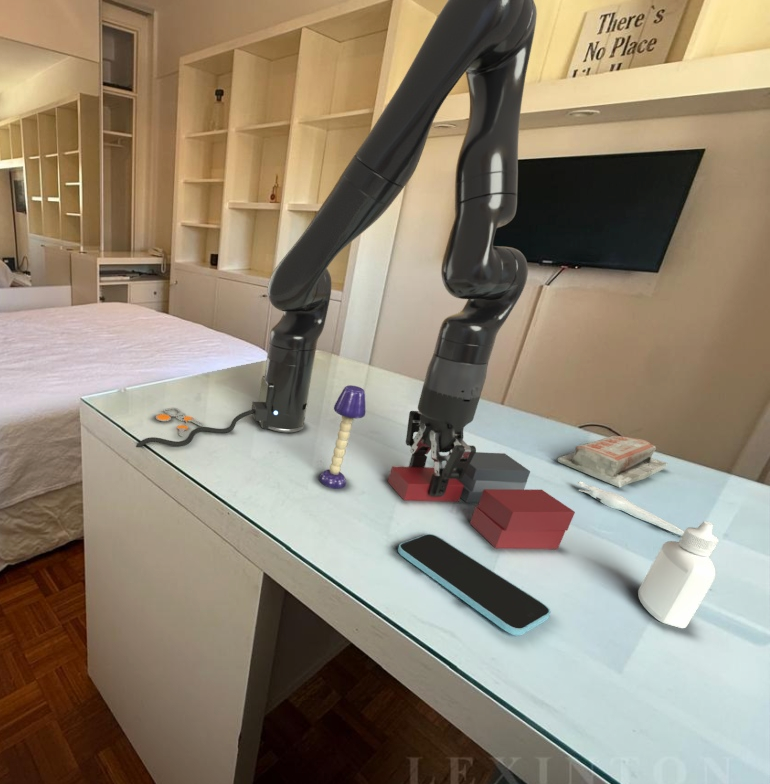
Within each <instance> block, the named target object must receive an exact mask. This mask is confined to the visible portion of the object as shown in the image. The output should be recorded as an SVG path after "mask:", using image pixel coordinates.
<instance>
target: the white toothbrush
mask: <svg viewBox="0 0 770 784" xmlns="http://www.w3.org/2000/svg"><path fill="white" fill-rule="evenodd" d="M577 485H578V486H580V487H582V488H584V489H578V492H581V493H585V494H587V495H590V496H591V497H592V498H594V499H596V500H597V501H598V502H599V503H602V504H603V505H605V506H607V507H609V508H611V509H614V510H618V511H623V512H624V513H626V514H628V515H629V516H632V517H634V518H636V519H638V520H641V521H644V522H647V523H650V524H652V525H655V526H656V527H659V528H661V529H664V530H666V531H669V532H671V533H674V534H676V535H679V536H682V535H683V533H684V532H685V530H683V529H681V528H679V527H677V526H676V525H674V524H673V523H670V522H669V521H667V520H664V519H662V518H660V517H659V516H656V515H655V514H653V513H651V512H650V511H648V510H645V509H643V508H641V507H640V506H637V505H636V504H634V503H633V502H631V501H630V500H628V499H627V498H626V497H624V496H622V495H620V494H617V493H615V492H612V491H611V492H610V491H607V490H604V489H601V488H598V487H596V486H594V485H588V484H587V483H585V482H583V481H581V480H579V481H577Z"/></svg>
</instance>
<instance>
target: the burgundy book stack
mask: <svg viewBox="0 0 770 784" xmlns="http://www.w3.org/2000/svg"><path fill="white" fill-rule="evenodd" d="M575 514H576V511H574V510H573V509H571V507H568V506H567V505H566V504H565V503H563V502H561V501H559V500H558V499H557V498H555V497H554V496H552V495H551V494H549V493H548V492H546V491H545V490H544V489H524V490H523V489H484V490H483V493H482V496H481V499H480V502H479V503H478V505H477V506H475V507H474V510H473V513H472V516H471V519H470V522H469V524H470V525H471V526H472V527H473V528H474V529H475V530H476V531H477V532H478V533H479V534H480V535H481V536H482V537H483V538H484V539H485V540H486V541H487V542H488V543H489V544H490V545H491V546H492V547H493V548H494V549H507V550H508V549H509V550H511V549H512V550H514V549H515V550H517V549H518V550H519V549H520V550H522V549H523V550H558V549H559V547H560V545H561V543H562V540H563V539H564V536H565V533H566V532H567V531H568V529H569V527H570V525H571V523H572V521H573V519H574V516H575Z"/></svg>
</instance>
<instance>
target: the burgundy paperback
mask: <svg viewBox="0 0 770 784" xmlns="http://www.w3.org/2000/svg"><path fill="white" fill-rule="evenodd" d="M432 474H434V467H432V466H431V467H427V466H425V467H409V466H394V465H393V466H391V468H390V472H389V475H388V479H387V483H388V484H389V485H390V486H391V488H393V490H394V491H395V492H396V493H397V494H398V496H399V497H400V498H401V499H402V500H403V501H409V502H410V501H412V502H413V501H415V502H417V501H418V502H420V501H421V502H423V501H424V502H460V499H461V497H460V496H461V493H462V490H463V486H464V485H463V484H462V483H461V482H459V481H458V480H457V479H449V482H448V485H447V488H446V491H445V494H444V495H443V496H442V497H431V496H430V495H429V494H428V489H429V486H430V481H431V478H432Z"/></svg>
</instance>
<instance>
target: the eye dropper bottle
mask: <svg viewBox="0 0 770 784" xmlns="http://www.w3.org/2000/svg"><path fill="white" fill-rule="evenodd" d="M713 528H714V524H713V523H711V522H709V521H705V520H704V521H702V523H701V524H699V526H698V527H693V526H690V527H686V528H685V530H684V531H685V532H684V533H683V535H681V537H680V539H679V541H674V540H668V541H665V542H664V543H663V544H662V546H661V547H660V548H659V551H658V552H657V554H656V556H655V557H654V560H653V561H652V564H651V565H650V567H649V569H648V571H647V573H646V574H645V577H644V578H643V580H642V583H641V584H640V585H639V588H638V590H637V594H638V595H637V596H638V599H639V601H640V603H641V605H642V606H643V608H644V609H645V610H646V611H647V612H648V613H649V614H650V615H651V616H652V617H653V618H655V619H656V620H657V621H659V622H660V623H662V624H664V625H668V626H672V627H674V628H675V627H676V628H679V629H685V628H687V627H688V625H689V623H690V622H691V620H692V619H693V617H694V615H695V614H696V612H697V610H698V608H699V607H700V605H701V603H702V602H703V600H704V598H705V596H706V595H707V594H708V592H709V590H710V588H711V586H712V584H713V582H714V581H715V578H716V568H715V565H714V563H713V560H712V559H711V557H710V556H711V555H712V553H713V551H714V549H715V548H716V546H717V545H718V544H719V540H720V539H719V538H718V537H717V536H715V534H713Z"/></svg>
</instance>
